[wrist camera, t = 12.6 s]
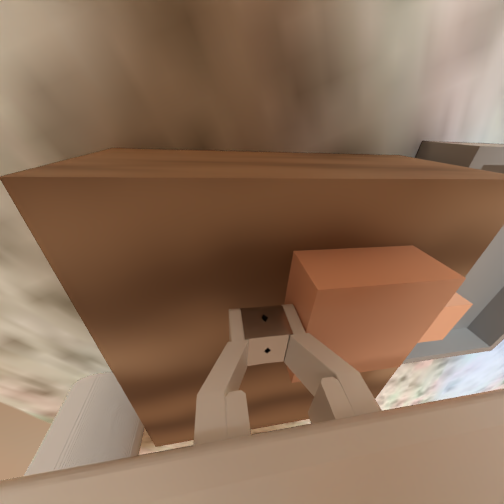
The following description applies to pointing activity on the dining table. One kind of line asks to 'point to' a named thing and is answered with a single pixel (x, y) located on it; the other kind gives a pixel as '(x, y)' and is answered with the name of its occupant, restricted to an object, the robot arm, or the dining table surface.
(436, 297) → the terracotta tile
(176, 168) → the brown wooden block
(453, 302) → the terracotta tile
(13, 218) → the dining table surface
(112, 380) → the cup
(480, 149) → the box
